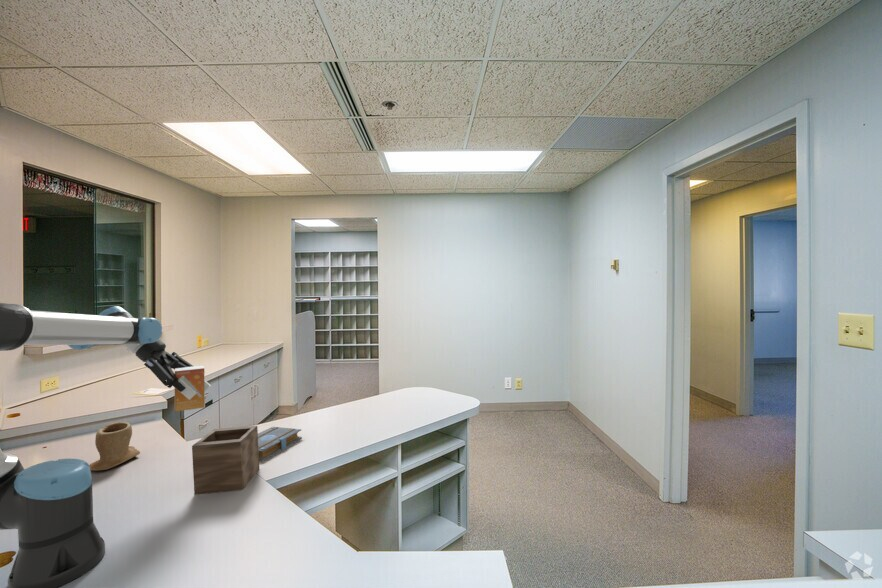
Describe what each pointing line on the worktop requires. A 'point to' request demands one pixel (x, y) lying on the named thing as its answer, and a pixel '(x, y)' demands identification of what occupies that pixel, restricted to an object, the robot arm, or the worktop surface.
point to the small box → (196, 382)
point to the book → (275, 440)
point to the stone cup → (113, 446)
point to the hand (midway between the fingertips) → (200, 392)
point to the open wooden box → (225, 459)
